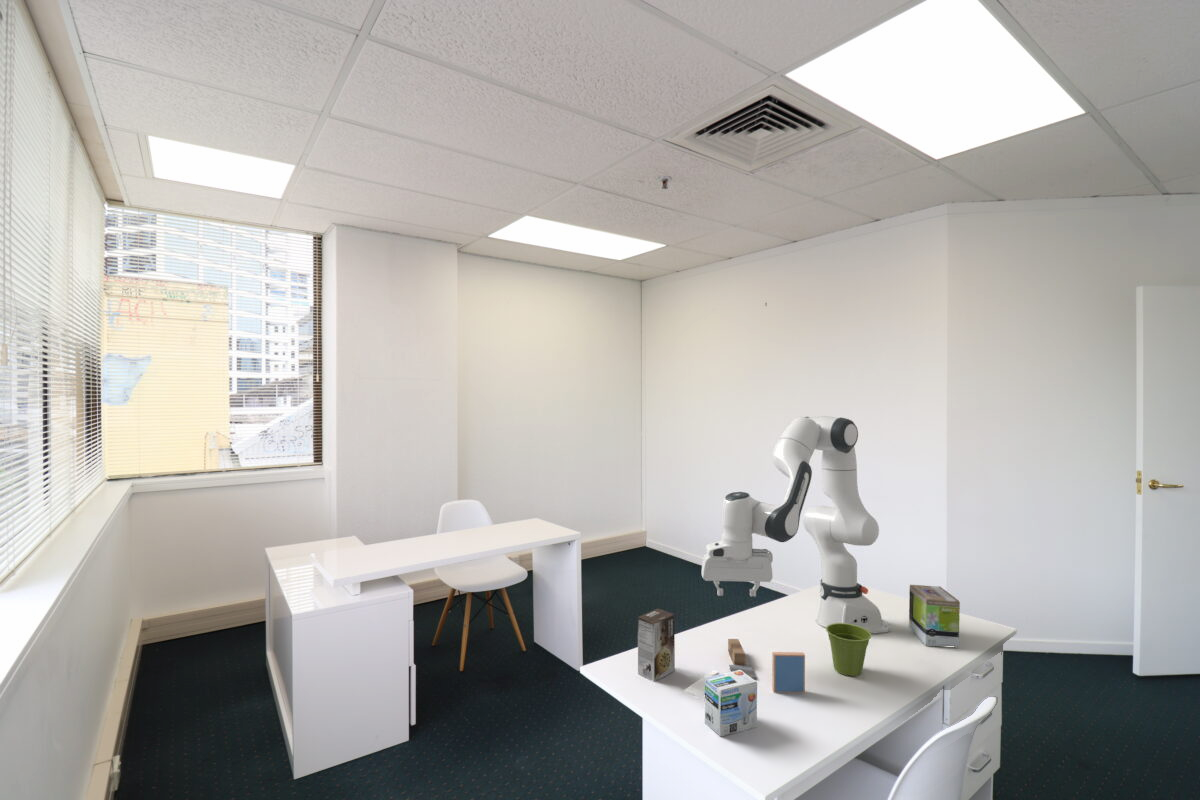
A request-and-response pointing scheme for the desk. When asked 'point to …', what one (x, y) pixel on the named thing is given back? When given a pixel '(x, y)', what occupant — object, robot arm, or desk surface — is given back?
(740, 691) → the light bulb box
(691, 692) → the butcher knife
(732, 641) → the wooden handled scraper
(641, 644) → the coffee box
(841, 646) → the plant pot
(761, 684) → the desk surface
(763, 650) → the desk surface
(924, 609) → the tea box
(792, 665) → the tile
